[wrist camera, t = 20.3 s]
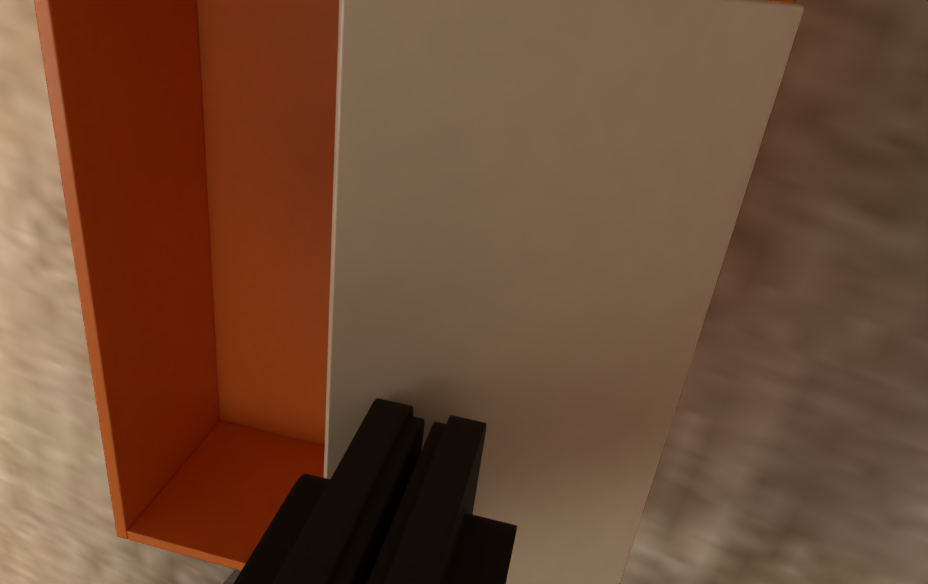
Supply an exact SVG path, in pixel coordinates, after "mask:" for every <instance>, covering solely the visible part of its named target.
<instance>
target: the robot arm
mask: <svg viewBox="0 0 928 584" xmlns="http://www.w3.org/2000/svg"><path fill="white" fill-rule="evenodd" d="M424 423H425V422H424V419H423V418H418V417H414V416H413V407H412V406H410V405H406V404H401V403H397V402H393V401H388V400H384V399H379V398H377V399H375V400H374V402H373V403H372V405H371V407H370V409H369V411H368V412H367V414H366V416H365V418H364V420H363V421H362V423H361V425H360V427H359V429H358V430H357V432H356V434H355V436H354V438H353V439H352V441H351V443H350V445H349V447H348V448H347V450H346V452H345V454H344V456H343V458H342V459H341V461H340V463H339V465H338V467H337V468H336V470H335V472H334V474H333V476H332V477H331V479H327V478H323V477H318V476H314V475H310V474H306V473H304V474H303V475H302V476H300V477H299V479H298V480H297V481H296V483H295V484H294V485H293V487H292V489H291V490H290V492H289V494H288V495H287V497H286V499H285V500H284V502H283V503H282V505H281V507H280V508H279V510H278V512H277V513H276V515H275V516H274V518H273V520H272V521H271V523H270V525H269V526H268V528H267V530H266V531H265V533H264V534H263V536H262V538H261V539H260V541H259V543H258V544H257V546H256V548H255V549H254V551H253V552H252V554H251V556H250V557H249V559H248V561H247V562H246V564H245V565H244V567H243V569H242V570H241V572H240V574H239V575H238V577H237V579H236V580H235V582H234V583H233V584H506V580H507V575H508V570H509V566H510V561H511V556H512V551H513V546H514V541H515V536H516V531H517V525H513V524H509V523H505V522H501V521H497V520H493V519H489V518H485V517H481V516H477V515H473V508H474V502H475V496H476V490H477V483H478V477H479V471H480V465H481V459H482V452H483V446H484V440H485V434H486V426H487V424H486V423H484V422H480V421H476V420H471V419H467V418H462V417H458V416H454V415H450V417H449V419H448V421H447V424H444V423H440V422H436V421H435V422H434V423H433V425H432V427H431V429H430V432H429V434H428V437H427V439H426V441H425V444H424V446H423V449H422V443H423V433H424Z"/></svg>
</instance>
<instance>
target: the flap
mask: <svg viewBox="0 0 928 584" xmlns="http://www.w3.org/2000/svg"><path fill="white" fill-rule="evenodd" d="M803 11H804V7H803V6H801V5H797V4H793V3H788V2H778V1H768V0H339V25H338V55H337V85H336V116H335V146H334V177H333V207H332V237H331V268H330V298H329V329H328V359H327V390H326V420H325V450H324V478H327V479H331V477H332V476H333V474H334V472H335V470H336V468H337V467H338V465H339V463H340V461H341V459H342V458H343V456H344V454H345V452H346V450H347V448H348V447H349V445H350V443H351V441H352V439H353V438H354V436H355V434H356V432H357V430H358V429H359V427H360V425H361V423H362V421H363V420H364V418H365V416H366V414H367V412H368V411H369V409H370V407H371V405H372V403H373V402H374V400H375V399H377V398H379V399H384V400H388V401H393V402H397V403H401V404H406V405H410V406H412V407H413V416H414V417H418V418H423V419H424V422H425V423H424V433H423V443H422V449H423V446H424V444H425V441H426V439H427V437H428V434H429V432H430V429H431V427H432V425H433V423H434V422H435V421H436V422H440V423H444V424H447V421H448V419H449V417H450V415H454V416H458V417H462V418H467V419H471V420H476V421H480V422H484V423H486V424H487V426H486V434H485V440H484V446H483V452H482V459H481V465H480V471H479V477H478V483H477V490H476V496H475V502H474V508H473V515H477V516H481V517H485V518H489V519H493V520H497V521H501V522H505V523H509V524H513V525H517V531H516V536H515V541H514V546H513V551H512V556H511V561H510V566H509V570H508V575H507V580H506V584H620V581H621V578H622V575H623V572H624V569H625V566H626V562H627V559H628V556H629V553H630V550H631V547H632V544H633V541H634V538H635V534H636V531H637V528H638V525H639V522H640V519H641V516H642V513H643V510H644V506H645V503H646V500H647V497H648V494H649V491H650V488H651V485H652V481H653V478H654V475H655V472H656V469H657V466H658V463H659V460H660V457H661V453H662V450H663V447H664V444H665V441H666V438H667V435H668V432H669V429H670V425H671V422H672V419H673V416H674V413H675V410H676V407H677V404H678V400H679V397H680V394H681V391H682V388H683V385H684V382H685V379H686V376H687V372H688V369H689V366H690V363H691V360H692V357H693V354H694V351H695V347H696V344H697V341H698V338H699V335H700V332H701V329H702V326H703V323H704V319H705V316H706V313H707V310H708V307H709V304H710V301H711V298H712V295H713V291H714V288H715V285H716V282H717V279H718V276H719V273H720V270H721V266H722V263H723V260H724V257H725V254H726V251H727V248H728V245H729V242H730V238H731V235H732V232H733V229H734V226H735V223H736V220H737V217H738V214H739V210H740V207H741V204H742V201H743V198H744V195H745V192H746V189H747V185H748V182H749V179H750V176H751V173H752V170H753V167H754V164H755V161H756V157H757V154H758V151H759V148H760V145H761V142H762V139H763V136H764V132H765V129H766V126H767V123H768V120H769V117H770V114H771V111H772V108H773V104H774V101H775V98H776V95H777V92H778V89H779V86H780V83H781V80H782V76H783V73H784V70H785V67H786V64H787V61H788V58H789V55H790V51H791V48H792V45H793V42H794V39H795V36H796V33H797V30H798V27H799V23H800V20H801V17H802V14H803Z"/></svg>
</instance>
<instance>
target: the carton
mask: <svg viewBox="0 0 928 584" xmlns="http://www.w3.org/2000/svg"><path fill="white" fill-rule="evenodd" d="M768 1H778V2H788V3H793V4H795V1H796V0H768ZM34 4H35V11H36V17H37V23H38V30H39V36H40V43H41V49H42V56H43V62H44V69H45V75H46V81H47V88H48V94H49V101H50V107H51V114H52V120H53V127H54V133H55V139H56V146H57V152H58V159H59V165H60V172H61V178H62V185H63V191H64V197H65V204H66V210H67V217H68V223H69V230H70V236H71V242H72V249H73V255H74V262H75V268H76V275H77V281H78V288H79V294H80V300H81V307H82V313H83V320H84V326H85V333H86V339H87V346H88V352H89V358H90V365H91V371H92V378H93V384H94V391H95V397H96V404H97V410H98V416H99V423H100V429H101V436H102V442H103V449H104V455H105V461H106V468H107V474H108V481H109V487H110V494H111V500H112V507H113V513H114V519H115V526H116V532H117V536H118V537H122V538H125V539H129V540H132V541H136V542H140V543H143V544H147V545H150V546H154V547H158V548H161V549H165V550H168V551H172V552H176V553H179V554H183V555H186V556H190V557H194V558H197V559H201V560H204V561H208V562H212V563H215V564H219V565H222V566H226V567H230V568H233V569H237V570H240V571H241V570H242V569H243V567H244V565H245V564H246V562H247V561H248V559H249V557H250V556H251V554H252V552H253V551H254V549H255V548H256V546H257V544H258V543H259V541H260V539H261V538H262V536H263V534H264V533H265V531H266V530H267V528H268V526H269V525H270V523H271V521H272V520H273V518H274V516H275V515H276V513H277V512H278V510H279V508H280V507H281V505H282V503H283V502H284V500H285V499H286V497H287V495H288V494H289V492H290V490H291V489H292V487H293V485H294V484H295V483H296V481H297V480H298V479H299V477H300V476H302V475H303V474H304V473H306V474H310V475H314V476H318V477H323V478H324V450H325V420H326V390H327V359H328V329H329V298H330V268H331V237H332V207H333V177H334V146H335V116H336V85H337V55H338V25H339V0H34Z"/></svg>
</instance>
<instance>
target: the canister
mask: <svg viewBox="0 0 928 584" xmlns="http://www.w3.org/2000/svg"><path fill="white" fill-rule="evenodd" d="M240 572H241V571H240V570H236V571H235V572H234V573H233V574H232V575H231V576H230V577H229V578H228V579H227V580H226V581H225V582H224V583H223V584H233V583H234V582H235V580H236V579H237V577H238V575H239V574H240Z"/></svg>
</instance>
